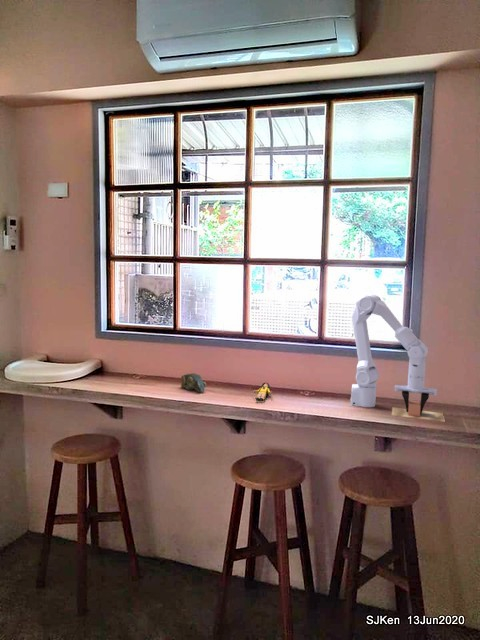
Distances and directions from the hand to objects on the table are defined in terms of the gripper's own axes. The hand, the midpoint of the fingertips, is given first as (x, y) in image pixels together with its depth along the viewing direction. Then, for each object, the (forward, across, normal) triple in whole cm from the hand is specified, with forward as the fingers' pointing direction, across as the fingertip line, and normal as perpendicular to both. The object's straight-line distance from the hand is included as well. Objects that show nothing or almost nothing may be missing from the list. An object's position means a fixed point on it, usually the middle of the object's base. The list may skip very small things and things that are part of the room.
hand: (413, 412), depth 174 cm
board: (+2, +1, 0) cm, 2 cm away
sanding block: (0, 0, 0) cm, 0 cm away
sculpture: (+2, -90, 0) cm, 90 cm away
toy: (+2, -59, +1) cm, 59 cm away
